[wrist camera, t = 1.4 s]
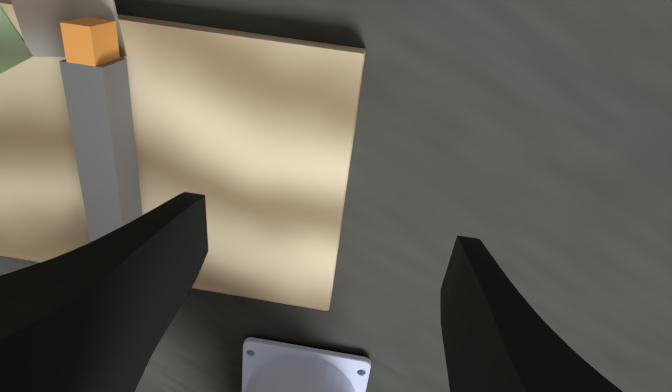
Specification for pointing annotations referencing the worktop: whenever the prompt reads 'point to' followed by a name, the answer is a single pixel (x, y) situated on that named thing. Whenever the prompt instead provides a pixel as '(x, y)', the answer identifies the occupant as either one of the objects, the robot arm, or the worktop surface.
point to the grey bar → (101, 123)
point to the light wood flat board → (190, 143)
